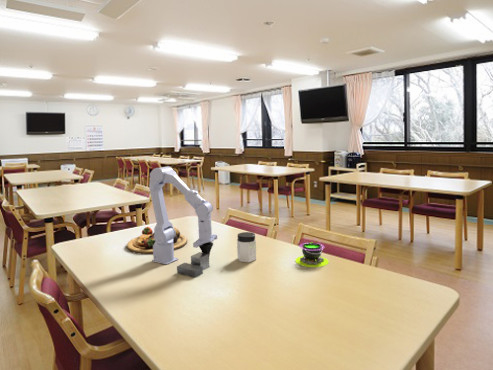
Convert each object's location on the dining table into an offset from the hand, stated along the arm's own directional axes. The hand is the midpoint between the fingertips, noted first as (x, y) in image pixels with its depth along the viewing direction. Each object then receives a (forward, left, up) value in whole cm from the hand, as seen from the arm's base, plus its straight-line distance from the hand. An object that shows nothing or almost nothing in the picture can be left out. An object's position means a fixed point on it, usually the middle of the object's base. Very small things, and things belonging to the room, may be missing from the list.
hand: (206, 258), depth 156 cm
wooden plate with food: (-43, +11, -4) cm, 45 cm away
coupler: (0, -7, -3) cm, 7 cm away
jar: (+12, +15, -3) cm, 19 cm away
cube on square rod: (0, -4, -3) cm, 5 cm away
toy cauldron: (+39, +27, -3) cm, 48 cm away
